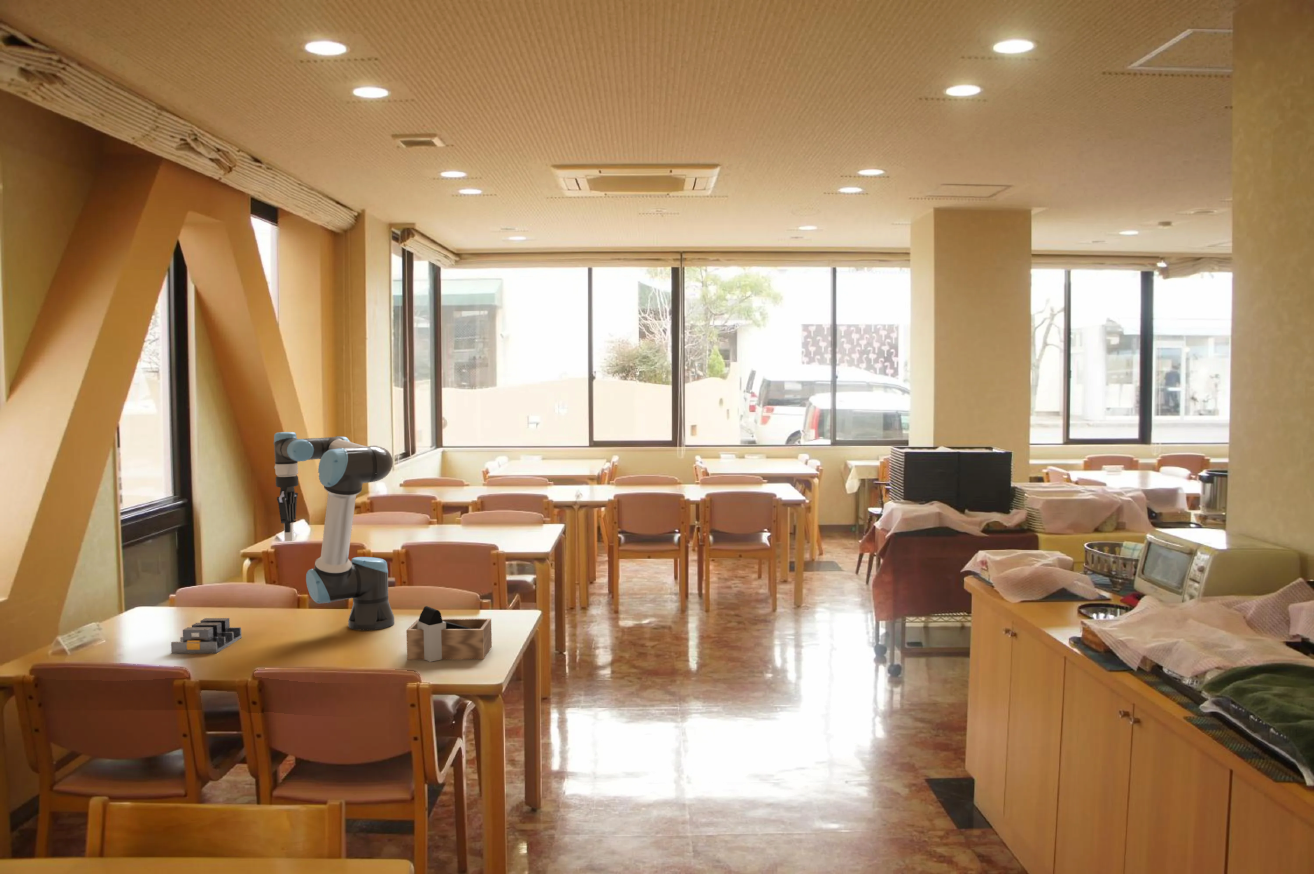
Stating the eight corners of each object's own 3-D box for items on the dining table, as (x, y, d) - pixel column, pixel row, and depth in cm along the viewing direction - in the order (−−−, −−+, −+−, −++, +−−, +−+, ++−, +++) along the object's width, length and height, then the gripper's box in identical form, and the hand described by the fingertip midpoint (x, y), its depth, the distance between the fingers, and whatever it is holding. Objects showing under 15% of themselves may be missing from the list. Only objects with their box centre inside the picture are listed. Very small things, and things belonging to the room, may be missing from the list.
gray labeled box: (213, 645, 300) (212, 627, 300) (208, 648, 297) (207, 629, 296) (188, 646, 300) (187, 627, 300) (183, 648, 297) (182, 630, 297)
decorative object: (483, 649, 296) (481, 601, 295) (430, 661, 284) (428, 612, 283) (469, 644, 302) (468, 597, 301) (417, 655, 290) (415, 607, 289)
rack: (241, 637, 313) (240, 616, 312) (215, 653, 295) (215, 631, 295) (199, 637, 313) (198, 616, 312) (171, 653, 296) (170, 631, 295)
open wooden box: (491, 646, 299) (491, 618, 299) (483, 659, 286) (482, 629, 286) (418, 646, 300) (418, 618, 299) (407, 659, 287) (406, 630, 286)
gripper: (283, 473, 347) (286, 537, 348) (268, 477, 334) (271, 544, 335) (304, 473, 346) (306, 537, 348) (289, 477, 333) (292, 544, 335)
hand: (289, 540), depth 342 cm, fingers closed
